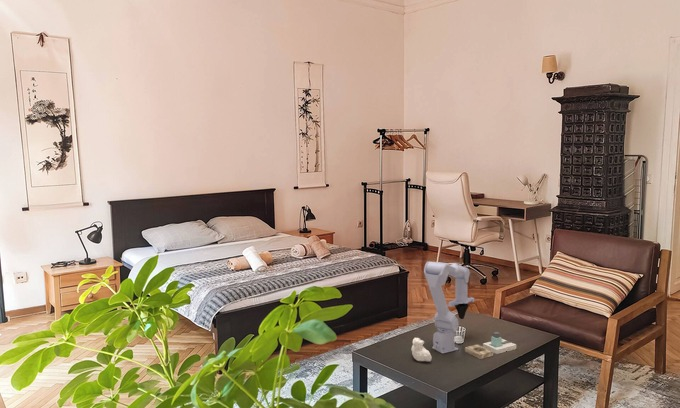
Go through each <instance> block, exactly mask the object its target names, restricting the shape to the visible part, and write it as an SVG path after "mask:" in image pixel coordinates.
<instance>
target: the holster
mask: <svg viewBox="0 0 680 408" xmlns="http://www.w3.org/2000/svg"><path fill="white" fill-rule="evenodd" d="M464 352H465V353H467V354H469V355H470V356H473V357H475V358H477V359H479V360H482V359H486V358H490V357H493V356H494V353H493V351H491V350H489V349H487V348H485V347H483V345H481V344H477V343H476V344H474V345H469V346H466V347H464Z"/></svg>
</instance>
